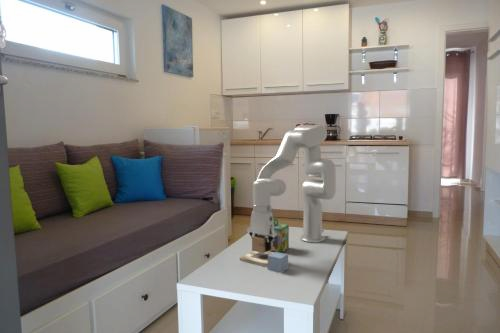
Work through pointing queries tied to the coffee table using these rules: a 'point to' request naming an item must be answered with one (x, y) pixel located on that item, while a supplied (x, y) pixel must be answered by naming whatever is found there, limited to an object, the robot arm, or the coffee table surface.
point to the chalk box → (280, 237)
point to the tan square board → (256, 258)
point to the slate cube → (278, 262)
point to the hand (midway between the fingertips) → (261, 248)
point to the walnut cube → (259, 243)
